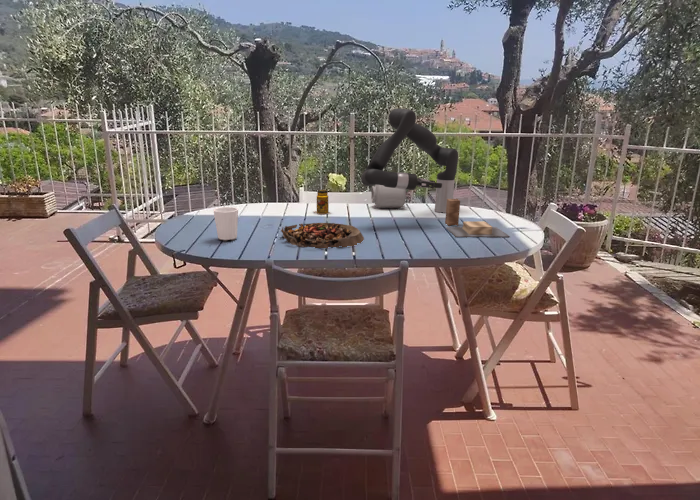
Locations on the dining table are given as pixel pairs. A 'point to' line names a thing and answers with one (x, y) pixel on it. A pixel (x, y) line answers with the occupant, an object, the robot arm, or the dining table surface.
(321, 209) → the condiment
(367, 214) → the dining table surface
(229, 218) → the cup
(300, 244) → the food dish
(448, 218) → the pillar
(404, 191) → the jar
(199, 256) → the dining table surface
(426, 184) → the robot arm
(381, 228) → the dining table surface
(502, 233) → the plinth
